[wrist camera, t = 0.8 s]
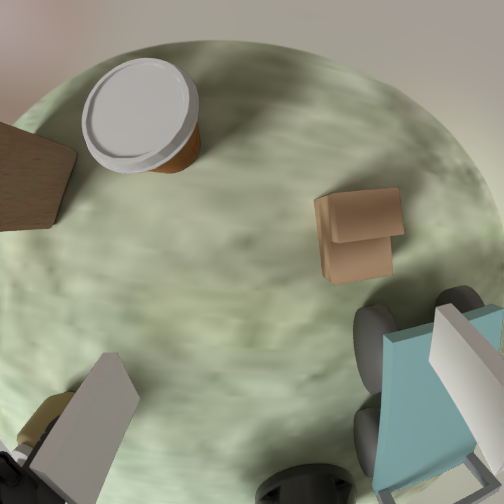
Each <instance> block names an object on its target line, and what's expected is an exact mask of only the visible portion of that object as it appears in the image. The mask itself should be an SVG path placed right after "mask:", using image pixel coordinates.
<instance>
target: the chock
mask: <svg viewBox="0 0 504 504" xmlns="http://www.w3.org/2000/svg"><path fill="white" fill-rule="evenodd" d="M314 207H315V214H316V222H317V230H318V238H319V247H320V256H321V265H322V275H323V277H325V278H326V279H327V280H329V281H330V282H331V283H333V284H334V285H337V284H343V283H349V282H355V281H361V280H367V279H373V278H379V277H384V276H390V275H393V266H392V252H391V240H390V236H396V235H403V234H404V228H403V218H402V209H401V201H400V194H399V187H396V188H384V189H372V190H361V191H350V192H340V193H332V194H329V195H327V196H324V197H321V198H318V199H315V200H314Z"/></svg>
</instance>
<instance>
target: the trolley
mask: <svg viewBox="0 0 504 504" xmlns="http://www.w3.org/2000/svg"><path fill="white" fill-rule="evenodd" d="M450 303H451V304H452V305H453V306H454V307H455V308H456V309H457V310H458V311H459V312H460V313H461V314H462V315H463V316H464V317H465V318H466V319H467V320H468V321H469V322H470V323H471V324H472V325H473V326H474V327H475V328H476V329H477V330H478V331H479V332H480V333H481V334H482V335H483V337H484V338H485V339H486V340H487V341H488V342H489V343H490V344H491V345H492V346H493V347H494V348H495V350H496V351H497V352H498V353H499V347H500V340H501V332H502V323H503V312H504V308H501V307H498V306H496V305H493V304H490V305H487V306H484V303H483V301H482V299H481V298H480V296H479V295H478V294H477V293H476V292H475V291H474V290H473V289H472V288H470V287H468V286H458V287H454V288H450V289H446V290H444V291H443V292H442V293H441V294H440V295H439V297H438V299H437V301H436V305H435V309H434V319H435V310H436V307H439V306H442V305H446V304H450ZM433 327H434V322H432V323H428V324H424V325H420V326H417V327H413V328H409V329H405V330H401V331H398V329H397V326H396V323H395V321H394V319H393V317H392V315H391V313H390V312H389V310H388V309H387V308H386V307H385V306H383V305H380V304H379V305H374V306H369V307H364V308H359V309H358V310H357V312H356V314H355V318H354V325H353V340H354V350H355V357H356V362H357V366H358V370H359V373H360V376H361V379H362V381H363V384H364V386H365V387H366V389H367V390H368V391H369V392H370V393H371V394H376V393H380V392H382V398H381V411H380V410H379V409H378V408H376V407H371V408H368V409H364V410H359V411H357V412H356V414H355V417H354V440H355V447H356V452H357V456H358V460H359V463H360V466H361V468H362V471H363V472H364V474H365V475H366V476H367V477H373V482H372V488H373V490H374V492H375V494H376V497H377V499H378V501H379V504H395V502H394V500H393V498H392V495H391V492H394V491H397V490H400V489H403V488H406V487H409V486H411V485H414V484H417V483H419V482H422V481H424V480H427V479H429V478H432V477H434V476H436V475H439V474H441V473H443V472H445V471H447V470H450V469H452V468H454V467H456V466H458V465H460V464H462V463H464V464H465V465H466V466H467V468H468V469H469V470H470V471H471V473H472V474H473V475H474V476H475V477H476V478H477V480H478V481H479V482H480V484H481V485H482V486H483V488H482V489H480V490H478V491H476V492H475V493H473V494H471V495H469V496H467V497H465V498H463V499H461V500H460V501H458V502H456V503H454V504H478V503H480V502H481V501H483V500H485V499H487V498H488V497H490V496H492V495H493V494H495V493H496V492H498V491H499V489H500V487H501V485H502V484H501V483H500V482H499V481H498V480H497V479H496V478H495V477H494V475H493V474H492V473H491V472H490V471H489V470H488V469H487V468H486V466H485V465H484V464H483V463H482V462H481V461H480V460H479V459H478V457H477V456H476V455H475V454H474V453H473V452H474V449H475V446H476V443H477V442H476V440H475V438H474V436H473V434H472V432H471V431H470V429H469V427H468V425H467V423H466V422H465V420H464V418H463V416H462V415H461V413H460V411H459V409H458V408H457V406H456V404H455V403H454V401H453V399H452V398H451V396H450V394H449V393H448V391H447V389H446V388H445V386H444V384H443V383H442V381H441V380H440V378H439V376H438V375H437V373H436V372H435V370H434V368H433V367H432V365H431V364H430V362H429V355H430V349H431V342H432V335H433Z"/></svg>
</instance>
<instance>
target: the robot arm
mask: <svg viewBox="0 0 504 504" xmlns="http://www.w3.org/2000/svg"><path fill="white" fill-rule="evenodd" d="M429 362H430V364H431V365H432V367H433V368H434V370H435V372H436V373H437V375H438V376H439V378H440V380H441V381H442V383H443V384H444V386H445V388H446V389H447V391H448V393H449V394H450V396H451V398H452V399H453V401H454V403H455V404H456V406H457V408H458V409H459V411H460V413H461V415H462V416H463V418H464V420H465V422H466V423H467V425H468V427H469V429H470V431H471V432H472V434H473V436H474V438H475V440H476V442H477V443H478V445H479V447H480V449H481V451H482V453H483V455H484V457H485V459H486V461H487V462H488V464H489V467H490V469H491V471H492V473H493V475H494V476H495V475H496V474H498V473H500V472H502V471H504V359H503V357H502V356H501V355H500V354H499V353H498V352H497V351H496V350H495V348H494V347H493V346H492V345H491V344H490V343H489V342H488V341H487V340H486V339H485V338H484V337H483V335H482V334H481V333H480V332H479V331H478V330H477V329H476V328H475V327H474V326H473V325H472V324H471V323H470V322H469V321H468V320H467V319H466V318H465V317H464V316H463V315H462V314H461V313H460V312H459V311H458V310H457V309H456V308H455V307H454V306H453V305H452V304H451V303H450V304H446V305H442V306H439V307H436V310H435V319H434V327H433V335H432V342H431V349H430V355H429ZM139 401H140V397H139V395H138V393H137V391H136V390H135V388H134V386H133V384H132V382H131V380H130V378H129V376H128V374H127V372H126V370H125V368H124V366H123V364H122V361H121V359H120V357H119V355H118V353H103V354H102V355H101V357H100V358H99V360H98V361H97V362H96V364H95V365H94V367H93V368H92V370H91V371H90V373H89V374H88V375H87V377H86V378H85V380H84V381H83V383H82V384H81V386H80V387H79V389H78V390H77V392H76V393H75V395H74V396H73V398H72V399H71V401H70V402H69V404H68V405H67V407H66V408H65V410H64V411H63V413H62V414H61V415H58V416H57V417H56V418H55V419H53V420H52V421H51V422H50V423H49V425H48V426H47V428H46V429H45V431H44V434H42V435H41V437H40V441H38V442H37V443H36V445H35V447H34V448H33V450H32V451H31V453H30V455H29V456H28V458H27V460H26V461H25V463H24V464H23V466H22V467H21V466H20V465H19V464H18V463H17V462H16V461H15V460H14V459H13V458H12V457H11V456H10V455H9V454H8V453H7V452H4V451H1V452H0V504H65V502H67V503H68V504H95V503H96V501H97V498H98V496H99V493H100V491H101V489H102V486H103V484H104V481H105V479H106V476H107V474H108V472H109V469H110V467H111V464H112V462H113V460H114V457H115V455H116V453H117V450H118V448H119V446H120V443H121V441H122V439H123V437H124V434H125V432H126V430H127V427H128V425H129V423H130V421H131V418H132V416H133V414H134V412H135V410H136V407H137V405H138V403H139ZM356 496H357V490H356V486H355V483H354V480H353V478H352V476H351V475H350V474H349V473H348V472H347V471H346V470H344V469H342V468H340V467H337V466H333V465H327V464H311V465H303V466H298V467H294V468H290V469H287V470H284V471H282V472H279V473H277V474H275V475H273V476H272V477H270V478H268V479H267V480H266V481H265V482H263V483H262V484H261V486H260V487H259V488H258V490H257V492H256V496H255V504H356Z"/></svg>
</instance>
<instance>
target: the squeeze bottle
mask: <svg viewBox="0 0 504 504" xmlns="http://www.w3.org/2000/svg"><path fill="white" fill-rule="evenodd" d="M74 395H75V393H74V392H65V393H61V394H57V395H53V396H50V397H49V398H47V399H46V400H45V401H44V402H43V403H42V404H41V406H40V407H39V408H38V409H37V411H36V412H35V413H34V414H33V416H32V417H31V418H30V419H29V421H28V422H27V423H26V424H25V426H24V427H23V428H22V430H21V431H20V432H19V433H18V435H17V442H18V446H17V447H16V448H15V449H14V450H13V451H12V457H13V459H14V460H15V461H16V462H17V463H18V464H19V465H20V466H21V467H22V466H23V464H24V463H25V461H26V460H27V458H28V456H29V455H30V453H31V451H32V450H33V448H34V447H35V445H36V443H37V442H38V441H40V437H41V435H42V434H44V431H45V429H46V428H47V426H48V425H49V423H50V422H51V421H52V420H53V419H55V418H56V417H57V416H58V415H61V414H62V413H63V411H64V410H65V408H66V407H67V405H68V404H69V402H70V401H71V399H72V398H73V396H74Z"/></svg>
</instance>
